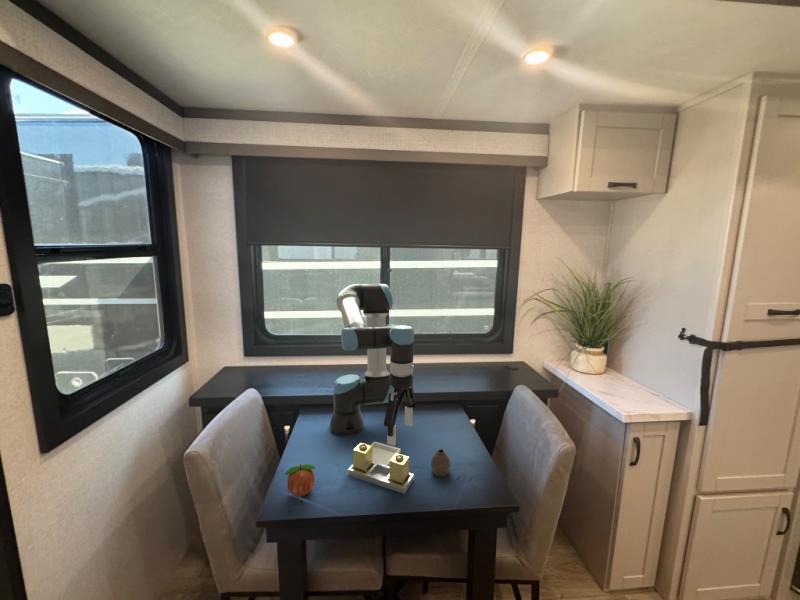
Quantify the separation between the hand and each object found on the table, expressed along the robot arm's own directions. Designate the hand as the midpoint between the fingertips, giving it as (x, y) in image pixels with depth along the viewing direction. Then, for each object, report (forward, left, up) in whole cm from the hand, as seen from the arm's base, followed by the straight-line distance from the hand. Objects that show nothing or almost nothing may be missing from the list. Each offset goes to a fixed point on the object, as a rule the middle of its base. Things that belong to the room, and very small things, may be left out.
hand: (400, 434), depth 115 cm
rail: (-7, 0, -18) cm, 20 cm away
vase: (+11, +12, -19) cm, 25 cm away
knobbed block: (0, 0, -18) cm, 18 cm away
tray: (-13, +11, -18) cm, 25 cm away
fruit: (-27, -18, -19) cm, 38 cm away
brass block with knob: (-15, 0, -18) cm, 23 cm away
